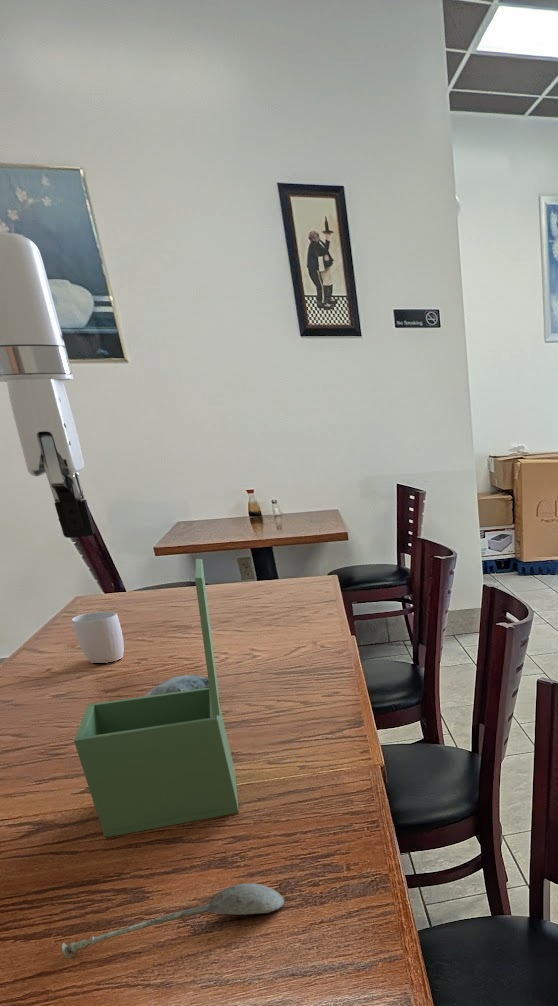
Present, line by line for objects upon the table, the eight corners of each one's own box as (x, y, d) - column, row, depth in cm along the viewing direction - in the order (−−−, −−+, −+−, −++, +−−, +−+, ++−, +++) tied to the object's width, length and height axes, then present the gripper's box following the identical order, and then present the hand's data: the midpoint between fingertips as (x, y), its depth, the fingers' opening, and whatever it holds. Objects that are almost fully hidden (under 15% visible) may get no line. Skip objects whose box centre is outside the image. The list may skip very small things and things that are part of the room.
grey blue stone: (141, 711, 152) (135, 686, 150) (185, 691, 162) (180, 667, 160) (180, 716, 150) (174, 690, 148) (222, 695, 160) (217, 670, 158)
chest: (104, 838, 108) (73, 740, 102) (114, 793, 120) (87, 704, 114) (239, 813, 113) (217, 718, 107) (235, 772, 126) (215, 686, 120)
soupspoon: (290, 920, 91) (281, 894, 96) (285, 893, 89) (276, 868, 95) (63, 974, 82) (67, 942, 87) (54, 945, 81) (59, 914, 86)
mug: (125, 663, 182) (113, 618, 177) (80, 668, 179) (67, 623, 175) (133, 648, 193) (122, 606, 188) (91, 653, 190) (79, 610, 186)
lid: (194, 577, 100) (202, 577, 100) (195, 558, 112) (202, 558, 112) (213, 715, 107) (219, 715, 107) (212, 683, 119) (217, 683, 120)
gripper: (7, 369, 97) (54, 530, 105) (-22, 364, 84) (34, 547, 92) (78, 368, 99) (119, 525, 107) (60, 362, 87) (108, 541, 95)
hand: (80, 535), depth 100 cm, fingers closed
